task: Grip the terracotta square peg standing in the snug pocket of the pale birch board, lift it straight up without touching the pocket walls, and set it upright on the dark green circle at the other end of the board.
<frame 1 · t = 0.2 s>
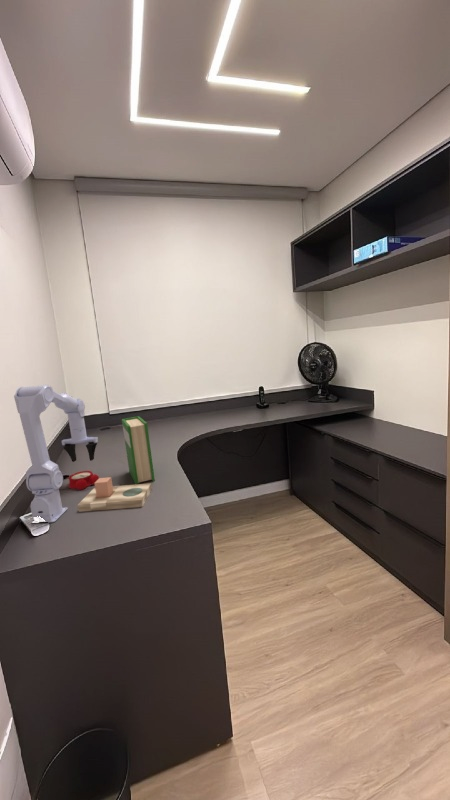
hand: (83, 460, 142), 10 cm above the table, tool pointing down, fingers open, 7 cm apart
peg: (106, 501, 124), resting in pocket board
alarm clock: (84, 485, 143), on the table
hardback book: (141, 476, 146), on the table
pocket board: (117, 500, 124), on the table
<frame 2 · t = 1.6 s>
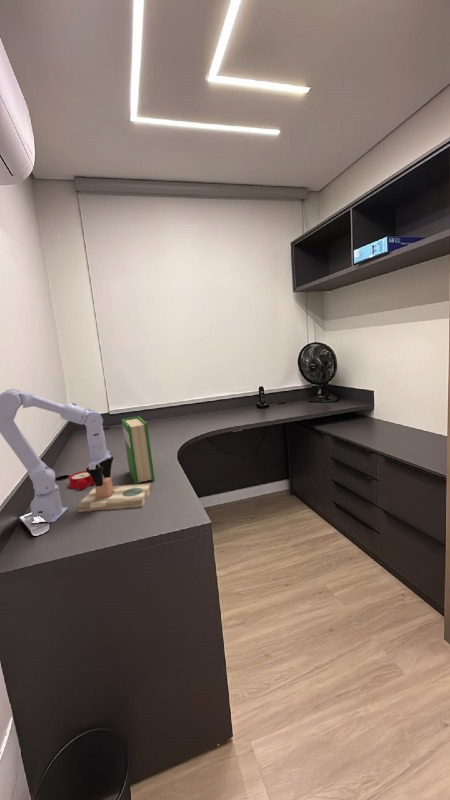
hand: (103, 481, 123), 7 cm above the table, tool pointing down, fingers open, 7 cm apart
nothing on the table moved.
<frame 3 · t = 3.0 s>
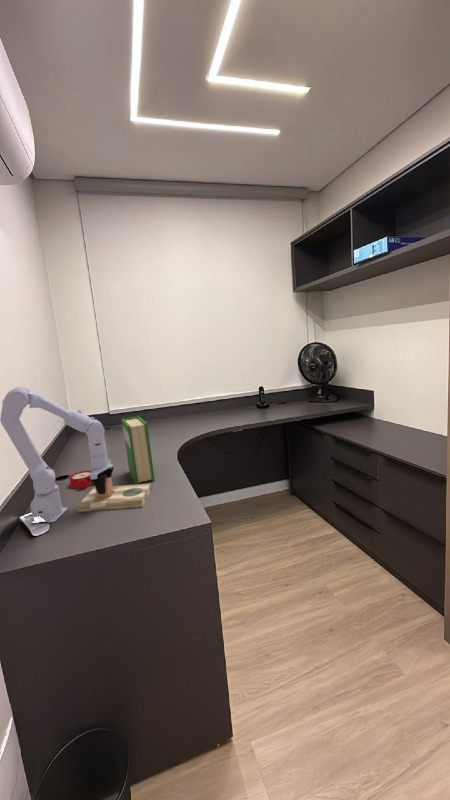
hand: (104, 490, 124), 4 cm above the table, tool pointing down, fingers closed on peg, 4 cm apart
peg: (106, 501, 124), resting in pocket board, touching gripper
everything else where it was.
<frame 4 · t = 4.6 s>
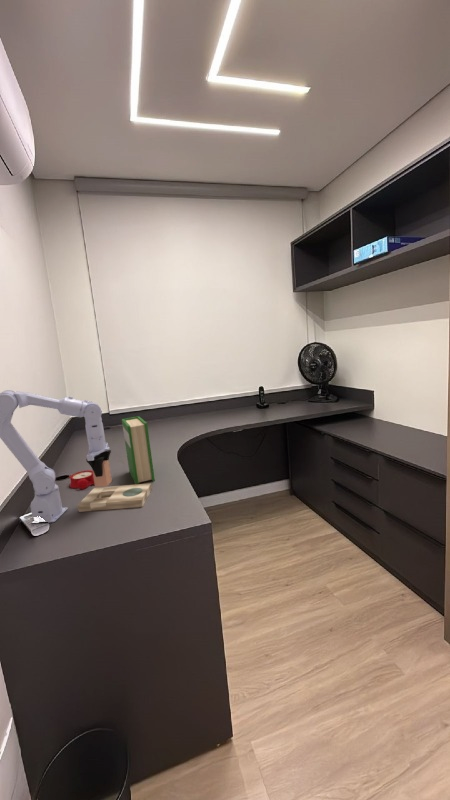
hand: (101, 473, 123), 10 cm above the table, tool pointing down, fingers closed on peg, 4 cm apart
peg: (103, 484, 123), point 6 cm above the table, touching gripper
everything else where it was.
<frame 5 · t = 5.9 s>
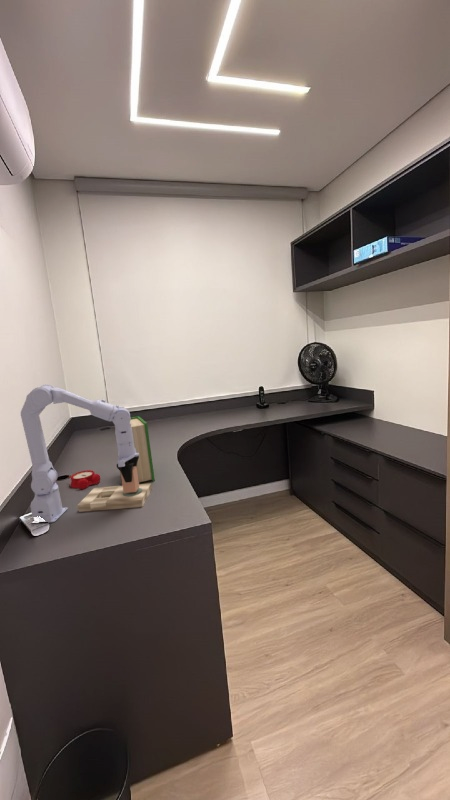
hand: (130, 479, 123), 7 cm above the table, tool pointing down, fingers closed on peg, 4 cm apart
peg: (131, 489, 123), point 3 cm above the table, touching gripper
everything else where it was.
when the fingers open (7 cm above the table, at t = 6.7 s): peg stays where it is, resting on pocket board.
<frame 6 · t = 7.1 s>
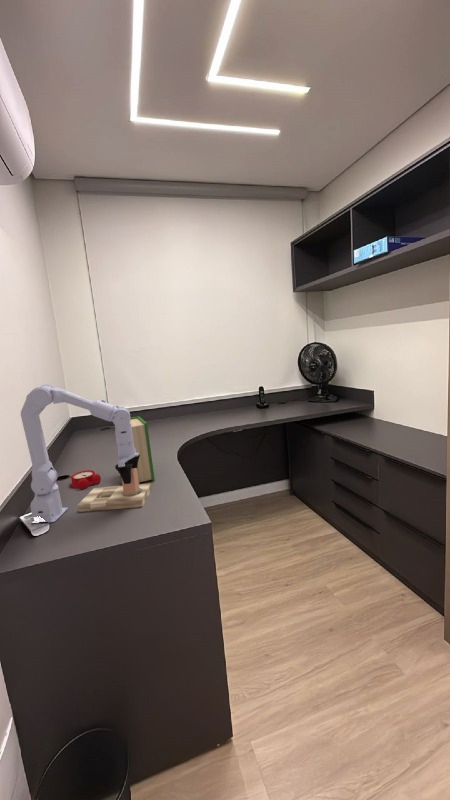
hand: (130, 479, 123), 7 cm above the table, tool pointing down, fingers open, 7 cm apart
peg: (131, 492, 124), point 3 cm above the table, touching pocket board
everything else where it was.
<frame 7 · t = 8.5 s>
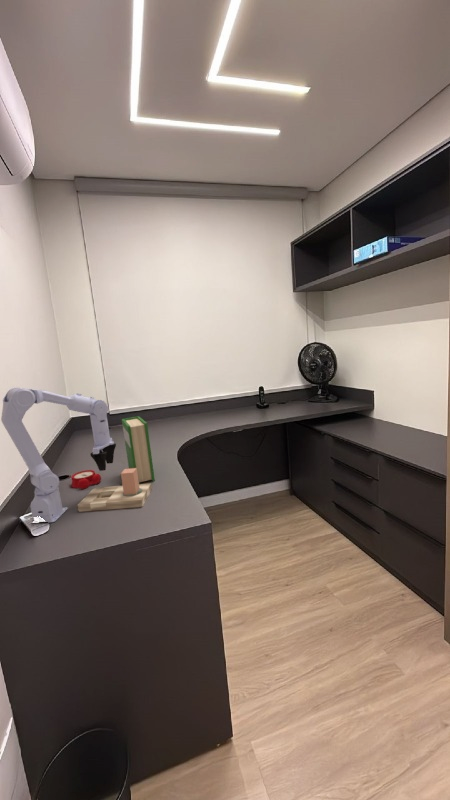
hand: (106, 466, 130), 10 cm above the table, tool pointing down, fingers open, 7 cm apart
nothing on the table moved.
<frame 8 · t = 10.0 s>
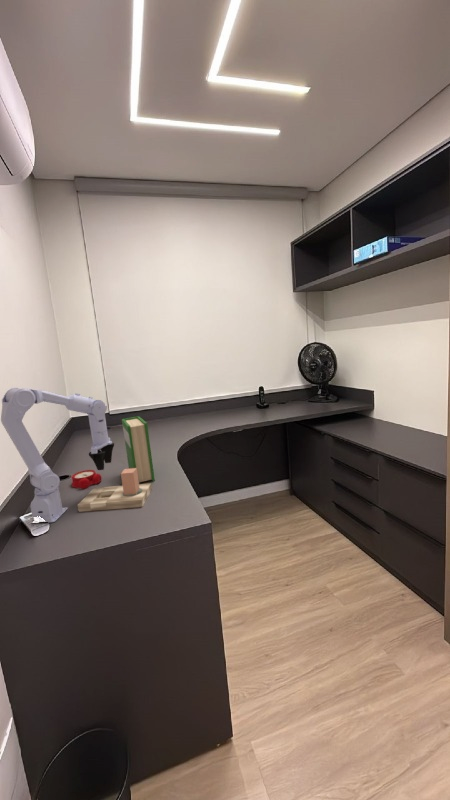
hand: (104, 466, 131), 10 cm above the table, tool pointing down, fingers open, 7 cm apart
at the end: peg 0.2 cm from the target spot on the pocket board, point 2.6 cm above the pocket board's base; peg tilted 0°; the gripper is holding nothing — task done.
